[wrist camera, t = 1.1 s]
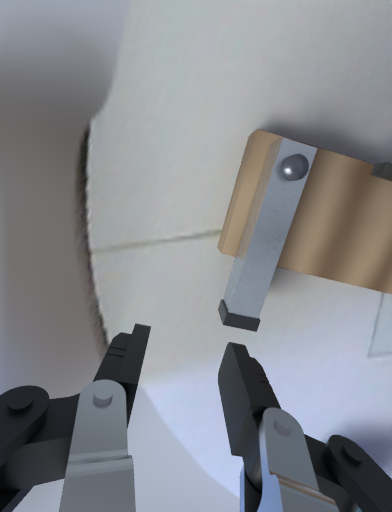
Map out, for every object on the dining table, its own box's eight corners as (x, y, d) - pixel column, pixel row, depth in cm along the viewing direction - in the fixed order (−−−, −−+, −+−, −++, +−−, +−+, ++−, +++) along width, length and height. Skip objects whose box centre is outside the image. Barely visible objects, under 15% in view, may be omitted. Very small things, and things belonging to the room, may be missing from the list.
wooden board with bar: (447, 195, 28) (496, 196, 24) (401, 291, 31) (437, 307, 26) (248, 136, 25) (262, 124, 21) (217, 247, 28) (223, 257, 24)
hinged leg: (268, 144, 23) (285, 134, 19) (302, 154, 23) (325, 147, 19) (218, 309, 26) (224, 328, 23) (248, 315, 27) (258, 335, 23)
